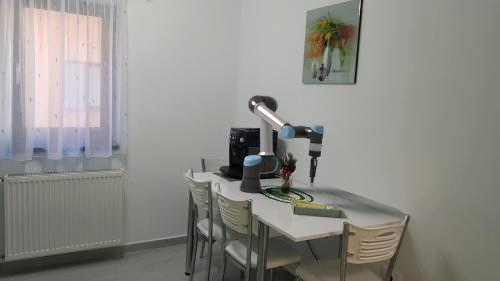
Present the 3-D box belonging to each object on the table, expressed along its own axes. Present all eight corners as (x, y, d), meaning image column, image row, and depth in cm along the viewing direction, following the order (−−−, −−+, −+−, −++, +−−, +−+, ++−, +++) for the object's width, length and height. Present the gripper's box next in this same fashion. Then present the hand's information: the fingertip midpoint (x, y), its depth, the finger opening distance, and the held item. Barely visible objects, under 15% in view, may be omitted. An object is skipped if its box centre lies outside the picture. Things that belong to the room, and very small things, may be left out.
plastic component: (326, 206, 220) (326, 202, 211) (324, 218, 218) (323, 215, 209) (293, 198, 226) (292, 195, 216) (291, 210, 223) (289, 207, 214)
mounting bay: (290, 205, 224) (291, 198, 224) (334, 208, 224) (334, 201, 223) (293, 214, 208) (294, 206, 207) (340, 217, 207) (341, 209, 207)
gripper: (323, 152, 224) (318, 190, 227) (319, 148, 237) (315, 185, 240) (310, 151, 224) (306, 189, 227) (307, 147, 237) (303, 183, 240)
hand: (310, 187), depth 233 cm, fingers closed
